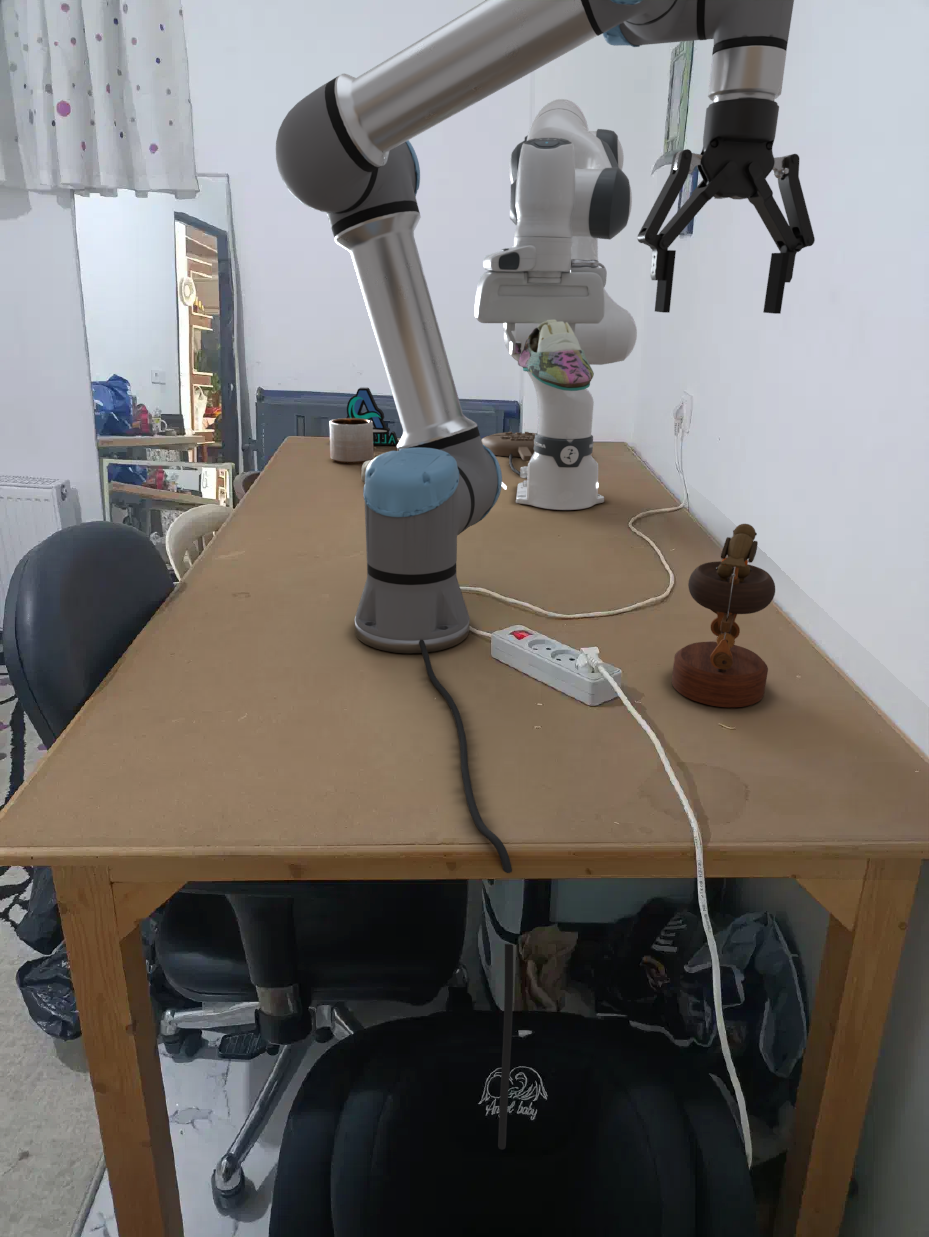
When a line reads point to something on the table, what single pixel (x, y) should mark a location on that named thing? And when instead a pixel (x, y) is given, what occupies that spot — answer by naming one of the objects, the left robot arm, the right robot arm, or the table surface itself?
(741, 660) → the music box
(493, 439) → the ice cream bar
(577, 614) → the table surface
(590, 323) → the right robot arm
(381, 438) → the decorative sign
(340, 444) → the planter
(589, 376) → the colourful slip-on shoe
